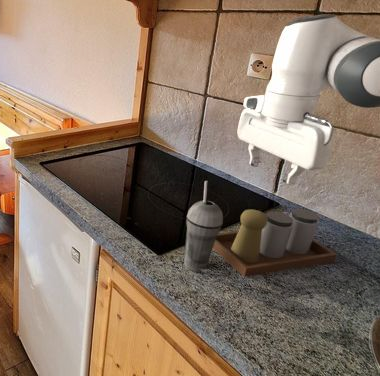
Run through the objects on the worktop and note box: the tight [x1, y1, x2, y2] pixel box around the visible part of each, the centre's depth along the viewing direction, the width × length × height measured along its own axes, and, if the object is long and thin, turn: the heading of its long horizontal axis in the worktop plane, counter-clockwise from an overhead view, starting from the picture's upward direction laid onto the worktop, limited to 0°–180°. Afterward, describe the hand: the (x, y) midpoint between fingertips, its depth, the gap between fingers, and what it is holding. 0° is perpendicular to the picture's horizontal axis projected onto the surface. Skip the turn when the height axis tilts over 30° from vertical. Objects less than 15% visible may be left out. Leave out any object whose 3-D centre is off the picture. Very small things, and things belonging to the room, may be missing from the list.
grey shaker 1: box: [259, 211, 293, 258], centre depth 91 cm, size 6×6×9 cm
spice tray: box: [212, 230, 338, 278], centre depth 93 cm, size 24×14×3 cm, turn 105°
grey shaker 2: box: [286, 208, 320, 254], centre depth 93 cm, size 6×6×9 cm
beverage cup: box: [183, 180, 224, 272], centre depth 85 cm, size 7×7×20 cm
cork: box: [230, 209, 267, 263], centre depth 89 cm, size 6×6×11 cm
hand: (270, 174), depth 83 cm, fingers open, 8 cm apart
